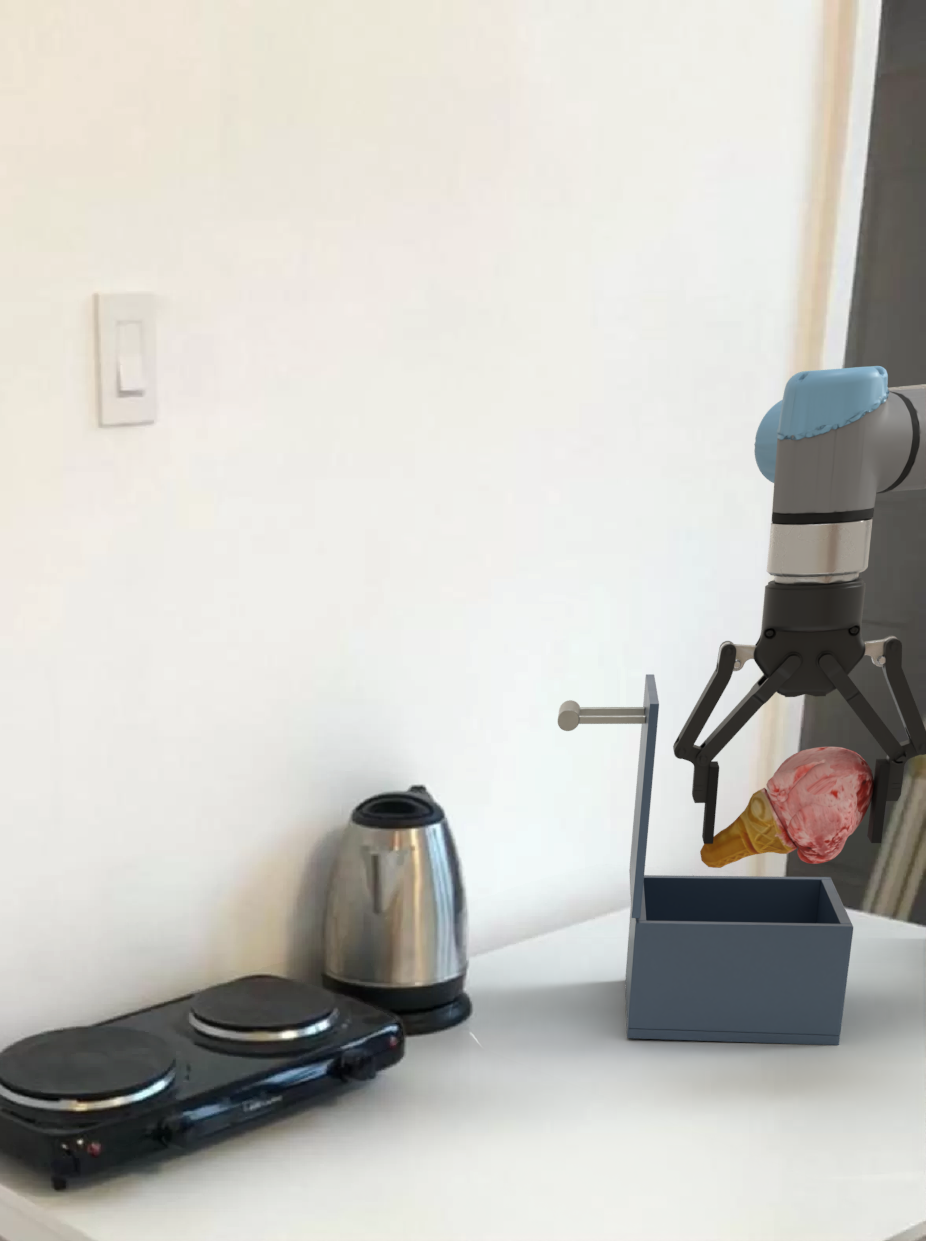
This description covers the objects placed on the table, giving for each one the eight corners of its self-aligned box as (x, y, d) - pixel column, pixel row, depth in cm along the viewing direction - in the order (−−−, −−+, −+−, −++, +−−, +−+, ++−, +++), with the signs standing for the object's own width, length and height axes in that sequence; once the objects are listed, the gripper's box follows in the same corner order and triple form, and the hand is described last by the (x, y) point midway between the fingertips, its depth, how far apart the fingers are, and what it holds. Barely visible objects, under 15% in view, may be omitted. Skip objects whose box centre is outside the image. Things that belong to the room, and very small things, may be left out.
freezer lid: (654, 674, 177) (562, 675, 179) (659, 703, 160) (557, 704, 162) (637, 870, 184) (549, 868, 187) (640, 918, 168) (543, 915, 170)
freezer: (817, 986, 184) (830, 876, 179) (838, 1045, 167) (853, 926, 163) (625, 981, 189) (632, 874, 185) (626, 1038, 172) (635, 922, 168)
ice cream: (699, 877, 149) (875, 782, 142) (664, 796, 155) (832, 700, 148) (746, 938, 157) (916, 851, 150) (711, 858, 162) (874, 770, 155)
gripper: (975, 565, 143) (941, 829, 152) (653, 579, 150) (637, 830, 159) (993, 574, 137) (956, 849, 145) (655, 588, 144) (638, 850, 152)
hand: (789, 840), depth 152 cm, fingers closed on ice cream, 12 cm apart
